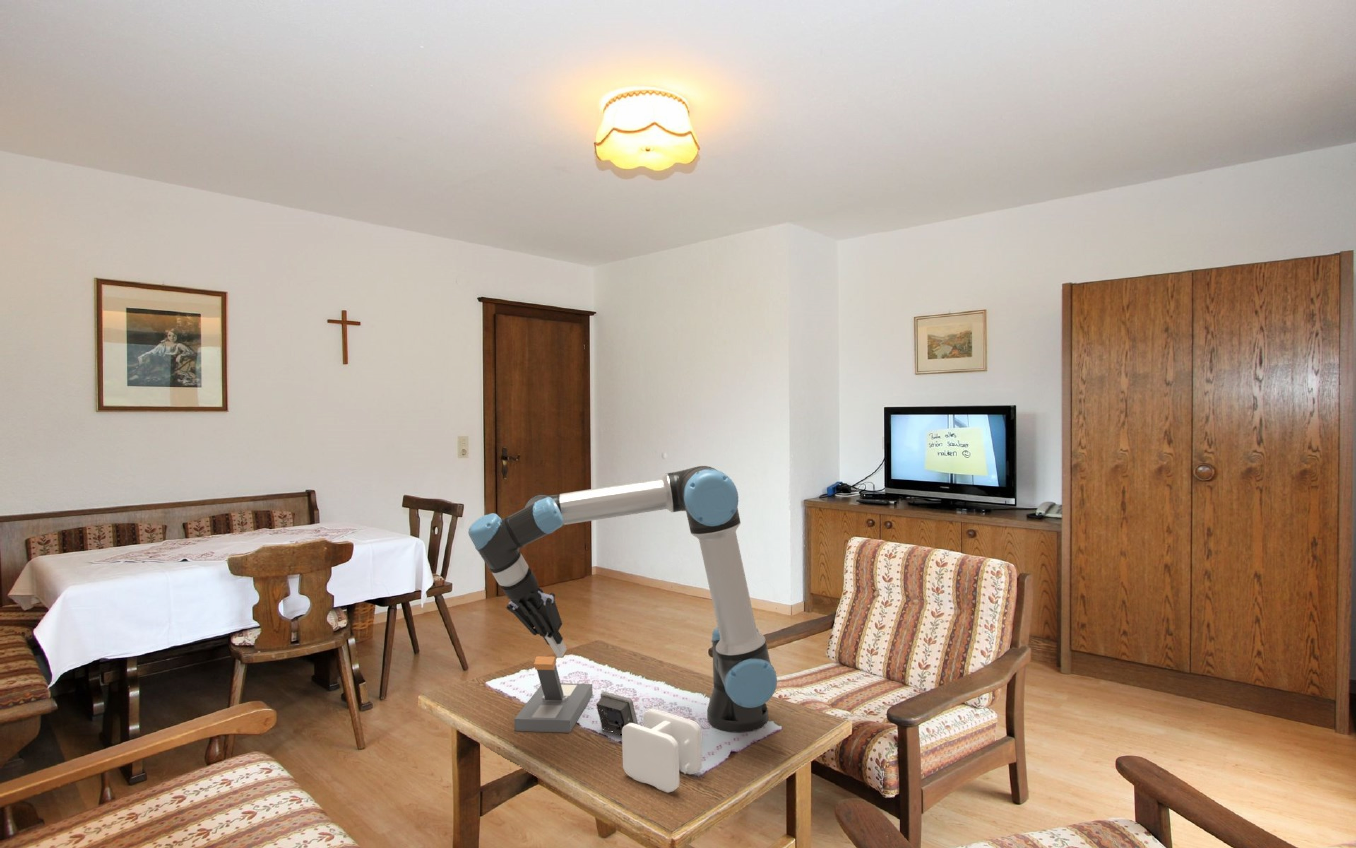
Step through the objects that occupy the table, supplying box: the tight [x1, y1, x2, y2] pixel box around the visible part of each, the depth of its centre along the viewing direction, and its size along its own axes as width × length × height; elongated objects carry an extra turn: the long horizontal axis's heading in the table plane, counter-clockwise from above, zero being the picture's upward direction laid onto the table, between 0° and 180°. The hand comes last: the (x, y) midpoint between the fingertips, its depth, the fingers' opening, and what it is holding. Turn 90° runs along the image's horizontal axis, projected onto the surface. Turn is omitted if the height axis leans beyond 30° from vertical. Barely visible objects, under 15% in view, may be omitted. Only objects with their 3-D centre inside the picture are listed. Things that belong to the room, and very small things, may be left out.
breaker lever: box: [533, 655, 564, 700], centre depth 178 cm, size 2×5×14 cm
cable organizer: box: [621, 708, 703, 794], centre depth 149 cm, size 15×11×12 cm
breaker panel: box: [513, 682, 594, 734], centre depth 182 cm, size 22×14×4 cm, turn 173°
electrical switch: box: [595, 691, 639, 735], centre depth 170 cm, size 9×5×9 cm, turn 57°
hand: (562, 652), depth 166 cm, fingers closed
